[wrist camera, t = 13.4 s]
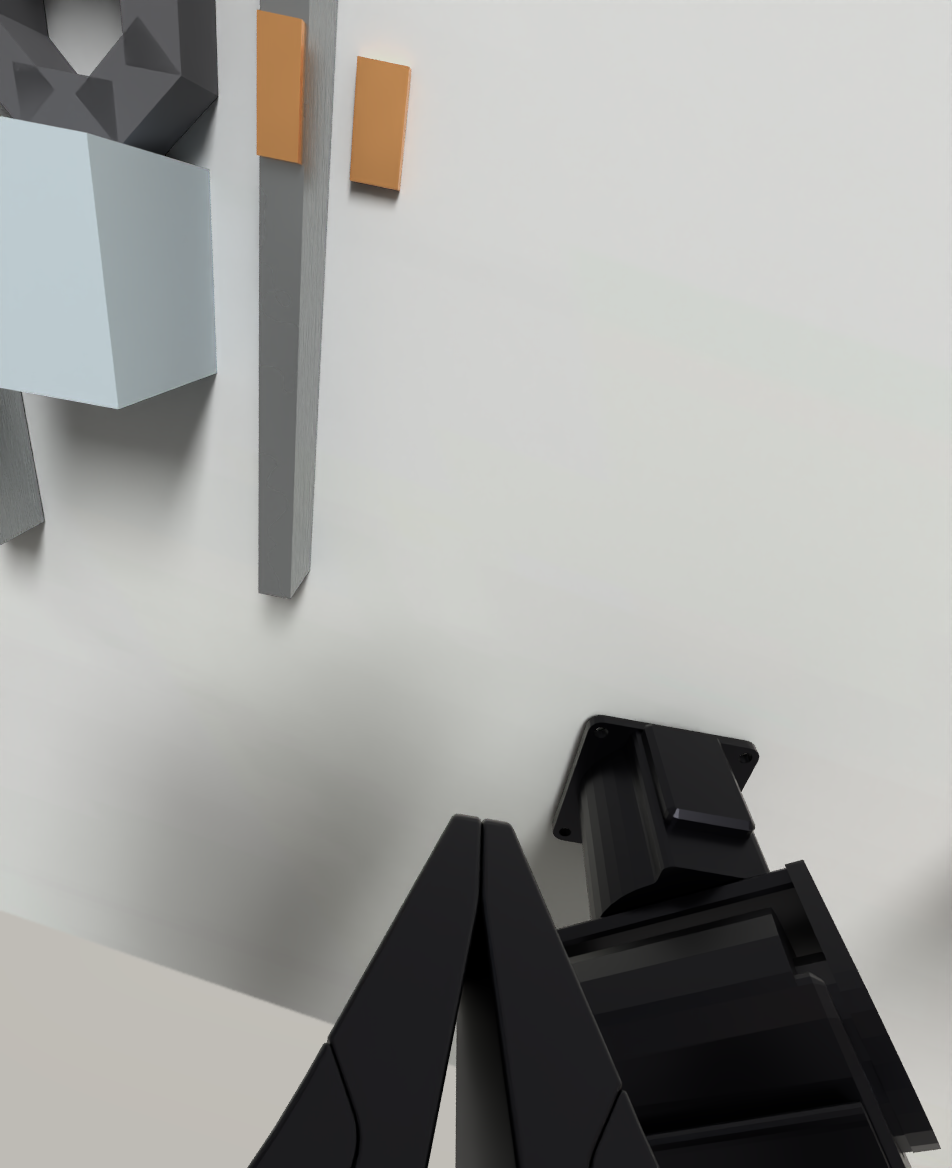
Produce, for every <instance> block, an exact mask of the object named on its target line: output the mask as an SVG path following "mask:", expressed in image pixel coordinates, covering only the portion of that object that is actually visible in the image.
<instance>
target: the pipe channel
mask: <svg viewBox="0 0 952 1168" xmlns="http://www.w3.org/2000/svg"><path fill="white" fill-rule="evenodd" d="M337 4H338V0H260V10H257V155H259V156H260V212H259V593H261V594H267V595H272V596H278V597H283V598H289V599H291V597H292V596H293V594H294V593H295V591H296V590H297V588H298V587H299V585H300V584H301V582H302V581H303V579H304V578H305V576H306V575H307V574H308V572H309V571H310V558H311V538H312V517H313V497H314V476H315V456H316V435H317V415H318V394H319V374H320V353H321V333H322V312H323V292H324V271H325V250H326V230H327V209H328V189H329V168H330V148H331V127H332V107H333V86H334V66H335V45H336V25H337ZM410 79H411V69H410V67H408V66H403V65H398V64H393V63H388V62H384V61H379V60H374V59H369V58H365V57H360V56H358V57H357V73H356V89H355V105H354V121H353V137H352V153H351V169H350V180H351V181H353V182H358V183H362V184H367V185H372V186H377V187H382V188H387V189H392V190H397V191H400V183H401V173H402V162H403V152H404V142H405V131H406V121H407V110H408V100H409V90H410ZM42 522H44V517H43V511H42V506H41V500H40V495H39V489H38V484H37V478H36V473H35V467H34V462H33V456H32V451H31V445H30V440H29V434H28V429H27V423H26V418H25V412H24V407H23V401H22V396H21V391H15V390H10V389H4V388H0V545H2V544H4V543H6V542H7V541H9V540H11V539H13V538H15V537H16V536H18V535H20V534H22V533H24V532H26V531H27V530H29V529H31V528H33V527H35V526H37V525H38V524H40V523H42Z"/></svg>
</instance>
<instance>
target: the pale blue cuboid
mask: <svg viewBox="0 0 952 1168" xmlns="http://www.w3.org/2000/svg"><path fill="white" fill-rule="evenodd" d="M216 373H217V360H216V333H215V307H214V280H213V253H212V226H211V199H210V173H209V169H206V168H202V167H199V166H196V165H192V164H189V163H186V162H182V161H179V160H176V159H172V158H169V157H166V156H162V155H159V154H156V153H152V152H149V151H146V150H142V149H139V148H136V147H132V146H129V145H126V144H122V143H119V142H116V141H112V140H109V139H106V138H102V137H99V136H96V135H92V134H89V133H85V132H80V131H75V130H70V129H64V128H59V127H54V126H49V125H44V124H38V123H33V122H28V121H23V120H18V119H12V118H7V117H2V116H0V388H4V389H10V390H15V391H21V392H26V393H32V394H37V395H43V396H48V397H54V398H59V399H65V400H70V401H76V402H81V403H87V404H92V405H98V406H103V407H109V408H114V409H121V408H123V407H126V406H129V405H132V404H134V403H137V402H140V401H142V400H145V399H148V398H151V397H153V396H156V395H159V394H161V393H164V392H167V391H169V390H172V389H175V388H178V387H180V386H183V385H186V384H188V383H191V382H194V381H197V380H199V379H202V378H205V377H207V376H210V375H213V374H216Z"/></svg>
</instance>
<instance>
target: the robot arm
mask: <svg viewBox="0 0 952 1168" xmlns="http://www.w3.org/2000/svg"><path fill="white" fill-rule="evenodd" d="M601 727H603V728H605V729H604V730H601V731H598V730H596V729H597V728H601ZM744 753H747V754H745V755H743V756H740V755H741V754H744ZM758 760H759V754H758V752H757V750H756V747H755V745H754V744H752V743H751V742H749V741H745V740H739V739H734V738H728V737H722V736H717V735H711V734H706V733H700V732H694V731H689V730H683V729H678V728H672V727H666V726H661V725H655V724H650V723H644V722H638V721H633V720H627V719H622V718H616V717H610V716H605V715H597V716H594V717H592V718H591V719H589V721H588V722H587V724H586V727H585V730H584V733H583V736H582V739H581V742H580V745H579V748H578V750H577V753H576V756H575V759H574V762H573V765H572V768H571V771H570V774H569V777H568V779H567V782H566V785H565V788H564V791H563V794H562V797H561V800H560V803H559V806H558V808H557V811H556V814H555V817H554V820H553V834H554V836H555V837H556V838H558V839H560V840H565V841H570V842H576V843H582V845H583V854H584V863H585V872H586V881H587V890H588V899H589V908H590V917H591V920H589V921H586V922H582V923H578V924H574V925H571V926H567V927H563V928H559V929H556V927H555V925H554V923H553V920H552V918H551V916H550V913H549V911H548V909H547V906H546V904H545V902H544V899H543V897H542V895H541V892H540V890H539V888H538V885H537V883H536V881H535V878H534V876H533V874H532V871H531V869H530V867H529V864H528V862H527V860H526V857H525V855H524V853H523V850H522V848H521V846H520V843H519V841H518V839H517V836H516V834H515V832H514V829H513V827H512V826H511V825H510V824H509V823H507V822H503V821H498V820H492V819H485V820H483V821H482V822H481V820H480V819H479V818H478V817H474V816H468V815H463V814H455V815H453V816H452V818H451V819H450V821H449V823H448V825H447V827H446V828H445V830H444V832H443V834H442V835H441V837H440V839H439V841H438V842H437V844H436V846H435V848H434V850H433V851H432V853H431V855H430V857H429V858H428V860H427V862H426V864H425V866H424V867H423V869H422V871H421V873H420V874H419V876H418V878H417V880H416V881H415V883H414V885H413V887H412V889H411V890H410V892H409V894H408V896H407V897H406V899H405V901H404V903H403V905H402V906H401V908H400V910H399V912H398V913H397V915H396V917H395V919H394V921H393V922H392V924H391V926H390V928H389V929H388V931H387V933H386V935H385V936H384V938H383V940H382V942H381V944H380V945H379V947H378V949H377V951H376V952H375V954H374V956H373V958H372V960H371V961H370V963H369V965H368V967H367V968H366V970H365V972H364V974H363V975H362V977H361V979H360V981H359V983H358V984H357V986H356V988H355V990H354V991H353V993H352V995H351V997H350V999H349V1000H348V1002H347V1004H346V1006H345V1007H344V1009H343V1011H342V1013H341V1014H340V1016H339V1018H338V1020H337V1022H336V1023H335V1025H334V1027H333V1029H332V1030H331V1032H330V1034H329V1036H328V1040H327V1043H324V1044H323V1046H322V1047H321V1049H320V1051H319V1053H318V1054H317V1056H316V1058H315V1060H314V1062H313V1063H312V1065H311V1067H310V1069H309V1070H308V1072H307V1074H306V1076H305V1077H304V1079H303V1081H302V1082H301V1084H300V1086H299V1087H298V1089H297V1091H296V1092H295V1094H294V1096H293V1097H292V1099H291V1101H290V1102H289V1104H288V1106H287V1107H286V1109H285V1111H284V1112H283V1114H282V1116H281V1117H280V1119H279V1121H278V1122H277V1124H276V1126H275V1127H274V1129H273V1130H272V1132H271V1133H270V1135H269V1136H268V1138H267V1139H266V1141H265V1143H264V1144H263V1145H262V1147H261V1148H260V1150H259V1151H258V1153H257V1154H256V1156H255V1157H254V1159H253V1160H252V1162H251V1163H250V1165H249V1166H248V1168H428V1163H429V1158H430V1153H431V1148H432V1143H433V1138H434V1133H435V1127H436V1122H437V1117H438V1112H439V1107H440V1102H441V1097H442V1092H443V1086H444V1082H445V1076H446V1071H447V1066H448V1061H449V1056H450V1051H451V1046H452V1041H453V1036H454V1031H455V1026H456V1020H457V1050H456V1168H911V1165H910V1163H909V1161H908V1159H907V1156H906V1154H905V1152H912V1151H913V1153H914V1152H921V1151H929V1150H936V1149H941V1148H940V1145H939V1143H938V1141H937V1138H936V1136H935V1134H934V1132H933V1129H932V1127H931V1125H930V1123H929V1121H928V1118H927V1116H926V1114H925V1112H924V1110H923V1107H922V1105H921V1103H920V1101H919V1099H918V1097H917V1095H916V1092H915V1090H914V1088H913V1086H912V1084H911V1082H910V1079H909V1077H908V1075H907V1073H906V1071H905V1069H904V1067H903V1065H902V1062H901V1060H900V1058H899V1056H898V1054H897V1052H896V1050H895V1048H894V1045H893V1043H892V1041H891V1039H890V1037H889V1035H888V1033H887V1031H886V1029H885V1026H884V1024H883V1022H882V1020H881V1018H880V1016H879V1014H878V1012H877V1010H876V1008H875V1005H874V1003H873V1001H872V999H871V997H870V995H869V993H868V991H867V989H866V987H865V985H864V983H863V981H862V979H861V976H860V974H859V972H858V970H857V968H856V966H855V964H854V962H853V960H852V958H851V956H850V954H849V952H848V950H847V948H846V946H845V944H844V942H843V940H842V938H841V936H840V934H839V932H838V930H837V928H836V926H835V923H834V921H833V919H832V917H831V915H830V913H829V911H828V909H827V907H826V905H825V903H824V901H823V899H822V897H821V895H820V893H819V891H818V889H817V887H816V885H815V883H814V881H813V879H812V877H811V875H810V873H809V871H808V869H807V866H806V864H805V862H804V860H800V861H796V862H793V863H789V864H785V866H786V868H784V869H780V870H776V871H772V872H770V870H769V868H768V865H767V863H766V861H765V858H764V856H763V853H762V851H761V849H760V846H759V844H758V841H757V839H756V837H755V834H754V832H753V831H754V829H755V824H754V821H753V819H752V817H751V814H750V812H749V810H748V807H747V805H746V802H745V800H744V798H743V795H742V793H741V791H742V790H743V788H744V786H745V784H746V782H747V780H748V779H749V777H750V775H751V773H752V771H753V769H754V768H755V766H756V764H757V762H758Z"/></svg>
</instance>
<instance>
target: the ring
mask: <svg viewBox="0 0 952 1168" xmlns="http://www.w3.org/2000/svg"><path fill="white" fill-rule="evenodd" d="M120 9H121V20H122V31H123V35H122V36H121V37H120V39H119V40H118V41H117V42H116V44H115V45H114V46H113V47H112V49H111V50H110V51H109V52H108V54H107V55H106V56H105V57H104V59H103V60H102V61H101V62H100V64H99V65H98V66H97V67H96V69H95V70H94V71H93V72H92V73H91V75H90V76H85V75H79V74H77V73H76V72H75V70H74V69H73V68H72V67H71V65H70V64H69V63H68V62H67V60H66V59H65V58H64V56H63V55H62V54H61V53H60V51H59V50H58V49H57V48H56V46H55V45H54V44H53V43H52V41H51V40H50V39H49V37H48V33H47V26H46V18H45V11H44V3H43V0H0V103H1V104H2V105H3V106H4V108H5V109H6V110H7V111H8V112H9V114H10V115H11V116H12V117H13V118H14V119H18V120H23V121H28V122H33V123H38V124H44V125H49V126H54V127H59V128H64V129H70V130H75V131H80V132H85V133H89V134H92V135H96V136H99V137H102V138H106V139H109V140H112V141H116V142H119V143H122V144H126V145H129V146H132V147H136V148H139V149H142V150H146V151H149V152H152V153H156V154H159V155H162V156H164V155H165V154H166V153H167V152H168V151H169V149H170V148H171V147H172V146H173V145H174V144H175V143H176V142H177V141H178V140H179V138H180V137H181V136H182V135H183V134H184V133H185V132H186V131H187V130H188V129H189V127H190V126H191V125H192V124H193V123H194V122H195V121H196V120H197V119H198V118H199V116H200V115H201V114H202V113H203V112H204V111H205V110H206V109H207V108H208V106H209V105H210V104H211V103H212V102H213V101H214V100H215V99H216V98H217V97H218V81H217V49H216V16H215V0H120Z"/></svg>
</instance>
